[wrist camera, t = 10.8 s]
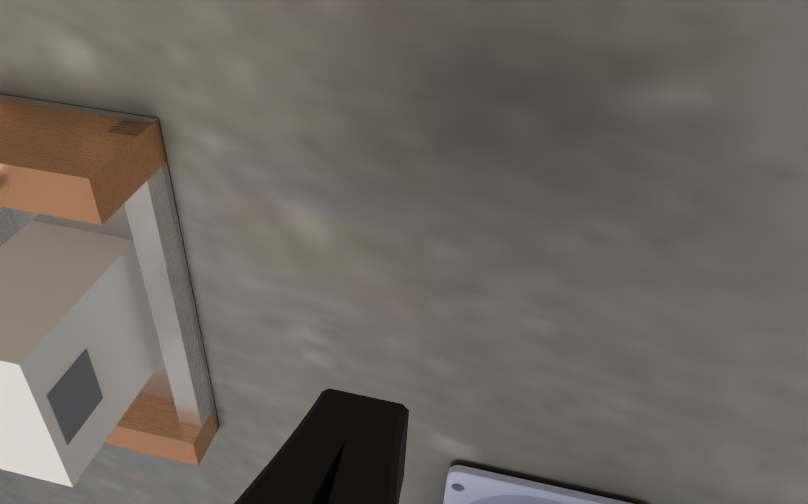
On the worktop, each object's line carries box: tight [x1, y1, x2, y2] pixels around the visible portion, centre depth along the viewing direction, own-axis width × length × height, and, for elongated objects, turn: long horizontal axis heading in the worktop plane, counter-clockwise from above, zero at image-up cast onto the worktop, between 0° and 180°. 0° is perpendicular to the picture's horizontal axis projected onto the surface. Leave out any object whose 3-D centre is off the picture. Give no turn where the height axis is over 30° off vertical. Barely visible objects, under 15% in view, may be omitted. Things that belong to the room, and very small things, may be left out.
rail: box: [0, 94, 219, 465], centre depth 24 cm, size 15×8×4 cm, turn 177°
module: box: [0, 220, 163, 487], centre depth 23 cm, size 6×4×6 cm
